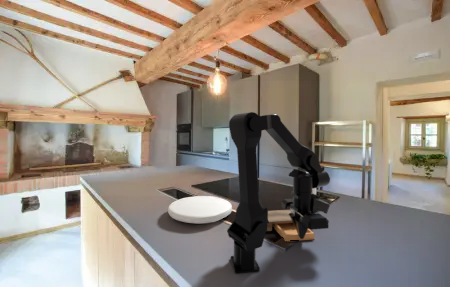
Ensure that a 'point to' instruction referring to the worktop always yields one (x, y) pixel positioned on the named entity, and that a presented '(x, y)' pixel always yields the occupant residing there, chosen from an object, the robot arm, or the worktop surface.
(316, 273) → the worktop surface
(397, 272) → the worktop surface
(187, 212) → the white thick disc
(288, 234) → the shallow tan tray
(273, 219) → the overhang
